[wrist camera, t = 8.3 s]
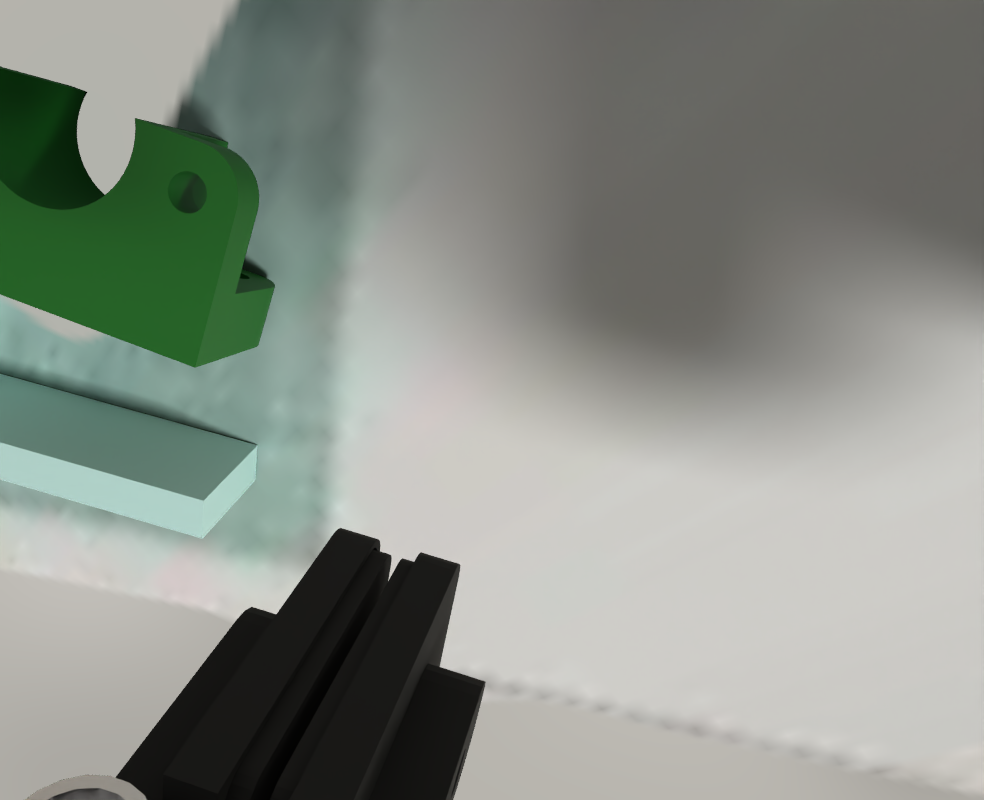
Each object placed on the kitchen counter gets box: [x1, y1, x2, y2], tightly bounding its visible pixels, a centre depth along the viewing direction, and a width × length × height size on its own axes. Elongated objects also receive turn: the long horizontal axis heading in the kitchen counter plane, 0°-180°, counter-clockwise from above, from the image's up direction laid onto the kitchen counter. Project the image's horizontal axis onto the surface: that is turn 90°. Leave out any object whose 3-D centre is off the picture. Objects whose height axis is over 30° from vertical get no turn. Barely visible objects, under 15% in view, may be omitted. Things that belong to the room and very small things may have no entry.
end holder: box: [0, 374, 258, 539], centre depth 26 cm, size 14×20×4 cm
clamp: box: [0, 67, 275, 367], centre depth 25 cm, size 12×6×9 cm, turn 67°
